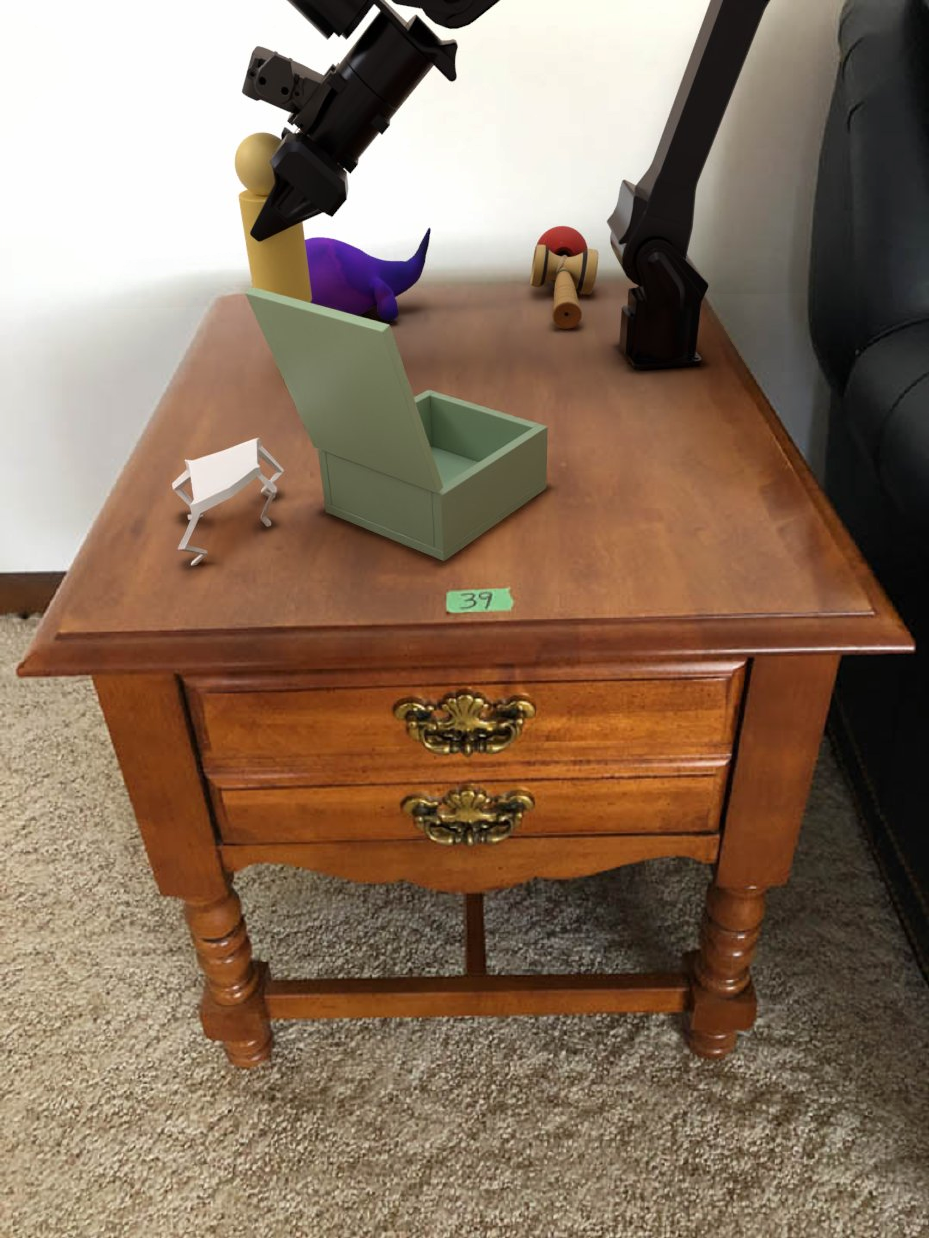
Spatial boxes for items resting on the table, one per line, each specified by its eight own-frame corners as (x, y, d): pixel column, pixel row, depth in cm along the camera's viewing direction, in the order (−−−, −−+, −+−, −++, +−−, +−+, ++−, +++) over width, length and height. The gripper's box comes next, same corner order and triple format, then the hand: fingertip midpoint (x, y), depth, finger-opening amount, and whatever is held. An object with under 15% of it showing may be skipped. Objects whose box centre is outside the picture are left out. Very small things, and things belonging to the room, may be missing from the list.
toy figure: (309, 289, 97) (288, 124, 89) (314, 307, 93) (293, 137, 85) (253, 294, 96) (227, 129, 88) (256, 314, 92) (229, 142, 84)
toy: (419, 305, 116) (284, 302, 113) (424, 216, 111) (282, 211, 108) (431, 333, 109) (288, 331, 106) (437, 240, 104) (287, 235, 101)
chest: (431, 448, 86) (428, 389, 83) (546, 488, 80) (548, 426, 77) (325, 512, 78) (317, 449, 75) (444, 561, 72) (441, 495, 69)
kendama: (611, 339, 107) (598, 260, 120) (603, 283, 102) (591, 207, 115) (537, 353, 108) (532, 273, 121) (526, 298, 104) (522, 221, 116)
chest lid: (251, 286, 65) (244, 293, 64) (389, 324, 59) (382, 331, 58) (319, 441, 75) (313, 447, 74) (443, 487, 69) (437, 493, 68)
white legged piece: (186, 492, 81) (174, 435, 78) (292, 490, 81) (284, 433, 78) (147, 579, 71) (131, 518, 68) (267, 577, 71) (256, 516, 68)
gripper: (302, -7, 88) (197, 138, 95) (281, 22, 73) (159, 192, 80) (400, 91, 93) (294, 222, 100) (399, 136, 78) (275, 287, 85)
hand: (257, 228), depth 91 cm, fingers closed on toy figure, 5 cm apart
